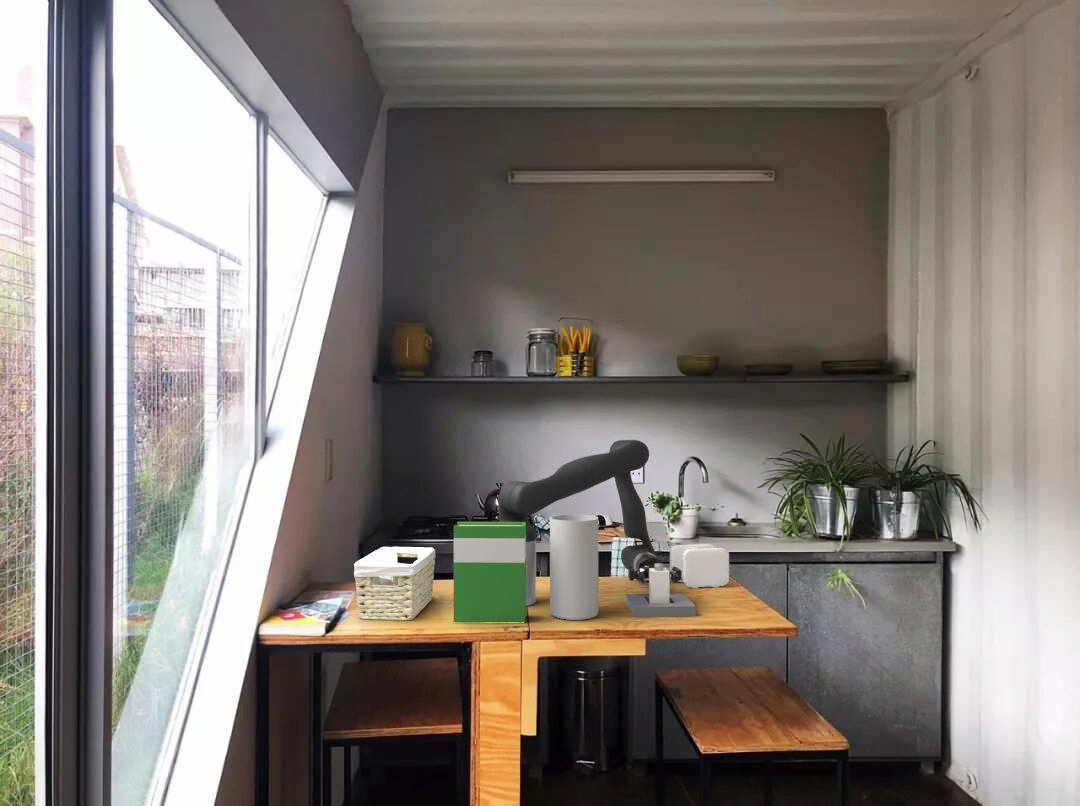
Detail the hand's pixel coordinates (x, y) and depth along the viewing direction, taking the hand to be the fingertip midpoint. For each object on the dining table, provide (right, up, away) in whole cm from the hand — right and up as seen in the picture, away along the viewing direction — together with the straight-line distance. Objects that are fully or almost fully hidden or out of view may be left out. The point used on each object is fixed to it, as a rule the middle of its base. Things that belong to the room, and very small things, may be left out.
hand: (659, 579), depth 202 cm
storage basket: (-70, -8, 0) cm, 70 cm away
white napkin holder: (+17, -9, +30) cm, 35 cm away
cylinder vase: (-23, -8, -5) cm, 25 cm away
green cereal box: (-44, -8, -9) cm, 46 cm away
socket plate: (0, -8, 0) cm, 8 cm away
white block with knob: (0, -8, 0) cm, 8 cm away
